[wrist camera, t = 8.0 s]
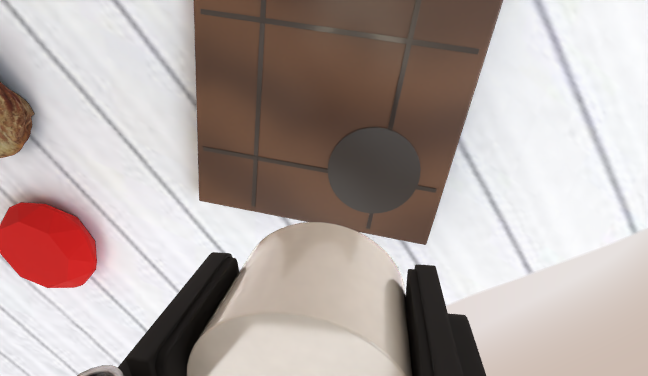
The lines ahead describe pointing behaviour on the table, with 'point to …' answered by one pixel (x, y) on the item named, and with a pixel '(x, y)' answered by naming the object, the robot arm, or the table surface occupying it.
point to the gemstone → (47, 245)
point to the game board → (336, 106)
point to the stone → (13, 122)
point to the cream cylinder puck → (310, 310)
